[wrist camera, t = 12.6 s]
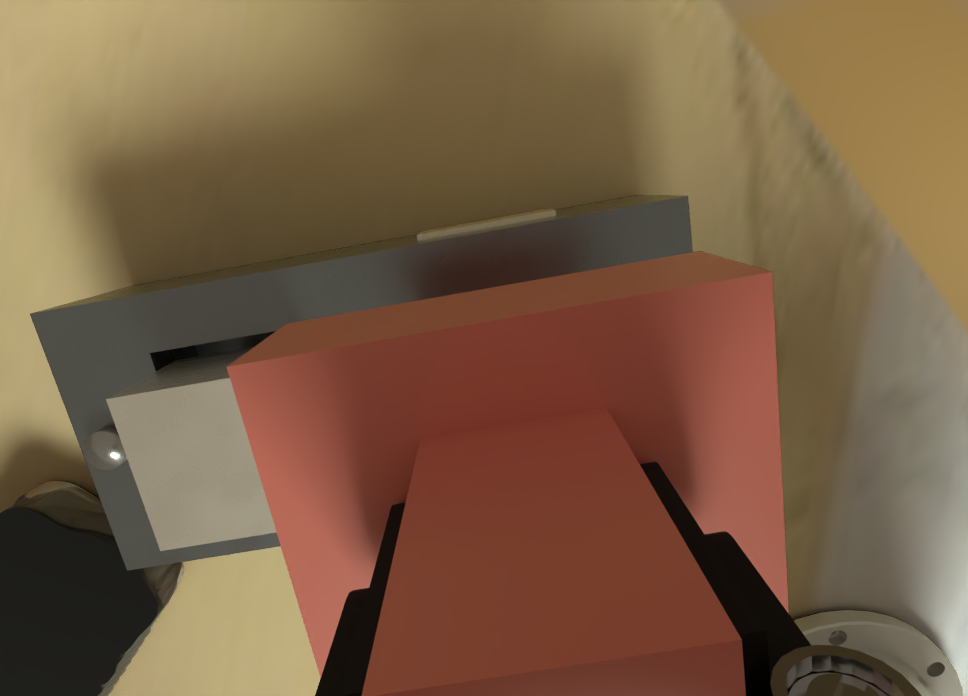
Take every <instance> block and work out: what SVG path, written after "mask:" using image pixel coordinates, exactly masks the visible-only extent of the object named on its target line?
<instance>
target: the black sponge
mask: <svg viewBox="0 0 968 696" xmlns="http://www.w3.org/2000/svg"><path fill="white" fill-rule="evenodd" d="M183 574H184V566H183V562H178V563H172V564H165V565H159V566H153V567H147V568H140V569H134V570H128V571H127V569H126V566H125V564H124V561H123V558H122V556H121V553H120V550H119V548H118V545H117V542H116V540H115V537H114V535H113V532H112V529H111V527H110V524H109V521H108V519H107V516H106V513H105V511H104V508H103V505H102V503H101V500H99V499H98V498H97V497H95V496H93V495H92V494H90V493H88V492H87V491H85V490H84V489H82V488H80V487H79V486H77V485H74V484H72V483H69V482H63V481H48V482H45V483H42V484H40V485H39V486H37V487H35V488H34V489H32V490H31V491H29V492H27V493H26V494H24V495H23V496H21V497H20V498H19V499H18V500H17V501H16V503H15V504H14V506H13V507H12V508H9V509H7V510H5V511H3V512H2V513H0V696H108V694H109V693H111V691H112V690H113V688H114V685H115V684H116V683H117V682H118V680H119V678H120V676H121V675H122V674H123V673H124V672H125V669H126V667H127V666H128V665H129V663H130V662H131V659H132V658H133V657H134V656H135V654H136V653H137V651H138V648H139V647H140V646H141V645H142V643H143V642H144V639H145V637H146V636H147V635H148V634H149V633H150V630H151V628H152V626H153V625H154V623H155V622H156V619H157V618H158V617H159V615H160V613H161V612H162V610H163V609H164V608H165V606H166V605H167V603H168V602H169V600H170V598H171V597H172V595H173V593H174V592H175V589H176V588H177V586H178V584H179V583H180V581H181V578H182V576H183Z"/></svg>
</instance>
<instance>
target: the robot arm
mask: <svg viewBox="0 0 968 696" xmlns="http://www.w3.org/2000/svg"><path fill="white" fill-rule="evenodd" d="M640 466H641V468H642V469H643V471H644V473H645V474H646V476H647V478H648V480H649V481H650V483H651V485H652V486H653V488H654V490H655V492H656V493H657V495H658V497H659V498H660V500H661V502H662V504H663V505H664V507H665V509H666V511H667V512H668V514H669V516H670V517H671V519H672V521H673V523H674V524H675V526H676V528H677V529H678V531H679V533H680V535H681V536H682V538H683V540H684V541H685V543H686V545H687V547H688V548H689V550H690V552H691V553H692V555H693V557H694V559H695V560H696V562H697V564H698V565H699V567H700V569H701V571H702V572H703V574H704V576H705V577H706V579H707V581H708V583H709V584H710V586H711V588H712V589H713V591H714V593H715V595H716V596H717V598H718V600H719V601H720V603H721V605H722V607H723V608H724V610H725V612H726V613H727V615H728V617H729V619H730V620H731V622H732V624H733V625H734V627H735V629H736V631H737V632H738V634H739V636H740V637H741V639H742V649H743V663H744V676H745V690H746V696H963V690H962V686H961V684H960V681H959V678H958V675H957V672H956V670H955V669H954V667H953V666H952V664H951V663H950V661H949V660H948V658H947V657H946V656H945V655H944V654H943V653H942V652H941V650H940V649H939V648H938V647H937V646H936V645H935V644H934V643H933V642H932V641H931V640H930V639H929V638H928V637H927V636H925V635H924V634H922V633H921V632H920V631H918V630H917V629H915V628H914V627H913V626H911V625H910V624H907V623H905V622H903V621H900V620H898V619H896V618H894V617H891V616H887V615H883V614H879V613H874V612H870V611H855V610H841V611H831V612H822V613H818V614H814V615H810V616H807V617H803V618H799V619H796V620H793V619H792V618H791V616H790V615H789V614H788V612H787V611H786V609H785V608H784V607H783V605H782V604H781V603H780V601H779V600H778V598H777V597H776V596H775V594H774V593H773V592H772V590H771V589H770V587H769V586H768V585H767V583H766V582H765V581H764V579H763V578H762V576H761V575H760V574H759V572H758V571H757V570H756V568H755V567H754V565H753V564H752V563H751V561H750V560H749V559H748V557H747V556H746V554H745V553H744V552H743V550H742V549H741V548H740V546H739V545H738V543H737V542H736V541H735V539H734V538H733V537H732V536H731V535H730V534H729V533H728V532H725V531H722V532H716V533H710V534H704V533H703V531H702V530H701V528H700V527H699V525H698V524H697V522H696V520H695V519H694V517H693V516H692V514H691V513H690V511H689V510H688V508H687V507H686V505H685V504H684V502H683V501H682V499H681V497H680V496H679V494H678V493H677V491H676V490H675V488H674V487H673V485H672V484H671V482H670V481H669V479H668V477H667V476H666V474H665V473H664V471H663V470H662V468H661V467H660V465H659V464H658V463H657V462H650V463H644V464H640ZM404 508H405V503H400V504H394V505H392V506H391V509H390V513H389V516H388V520H387V524H386V528H385V531H384V535H383V539H382V542H381V546H380V550H379V553H378V557H377V561H376V564H375V568H374V572H373V576H372V579H371V583H370V587H369V588H364V589H357V590H352V591H351V592H349V594H348V596H347V598H346V601H345V604H344V607H343V610H342V613H341V616H340V620H339V623H338V626H337V629H336V632H335V635H334V638H333V642H332V645H331V648H330V651H329V654H328V657H327V660H326V663H325V667H324V670H323V673H322V676H321V679H320V682H319V685H318V689H317V692H316V695H315V696H362V692H363V687H364V683H365V679H366V674H367V670H368V665H369V661H370V657H371V652H372V648H373V644H374V639H375V635H376V630H377V626H378V622H379V617H380V613H381V609H382V604H383V600H384V595H385V591H386V587H387V582H388V578H389V574H390V569H391V565H392V560H393V556H394V552H395V547H396V543H397V538H398V534H399V530H400V525H401V521H402V517H403V512H404Z"/></svg>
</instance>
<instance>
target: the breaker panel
mask: <svg viewBox="0 0 968 696" xmlns="http://www.w3.org/2000/svg"><path fill="white" fill-rule="evenodd" d="M691 252H693V251H692V239H691V227H690V216H689V204H688V196H669V195H635V196H630V197H624V198H619V199H613V200H608V201H602V202H596V203H591V204H585V205H580V206H574V207H569V208H563V209H557V210H553V209H550V208H548V209H543V210H537V211H532V212H526V213H521V214H515V215H509V216H504V217H498V218H493V219H487V220H482V221H476V222H471V223H465V224H459V225H454V226H448V227H443V228H437V229H432V230H426V231H422V232H420V233H419V234H417V235H413V236H407V237H402V238H396V239H391V240H385V241H379V242H374V243H368V244H363V245H357V246H352V247H346V248H341V249H335V250H329V251H324V252H318V253H313V254H307V255H302V256H296V257H290V258H285V259H279V260H274V261H268V262H263V263H257V264H252V265H246V266H240V267H235V268H229V269H224V270H218V271H213V272H207V273H201V274H196V275H190V276H185V277H179V278H174V279H168V280H163V281H157V282H151V283H146V284H140V285H135V286H130V287H126V288H123V289H119V290H115V291H112V292H108V293H104V294H101V295H97V296H93V297H90V298H86V299H82V300H79V301H75V302H71V303H68V304H64V305H60V306H57V307H53V308H49V309H46V310H42V311H38V312H35V313H31V314H30V315H31V318H32V321H33V323H34V326H35V329H36V331H37V334H38V337H39V339H40V342H41V345H42V347H43V350H44V352H45V355H46V358H47V360H48V363H49V366H50V368H51V371H52V374H53V376H54V379H55V381H56V384H57V387H58V389H59V392H60V395H61V397H62V400H63V403H64V405H65V408H66V410H67V413H68V416H69V418H70V421H71V424H72V426H73V429H74V432H75V434H76V437H77V440H78V442H79V445H80V447H81V450H82V453H83V455H84V458H85V461H86V463H87V466H88V469H89V471H90V474H91V476H92V479H93V482H94V484H95V487H96V490H97V492H98V495H99V498H100V500H101V503H102V505H103V508H104V511H105V513H106V516H107V519H108V521H109V524H110V527H111V529H112V532H113V535H114V537H115V540H116V542H117V545H118V548H119V550H120V553H121V556H122V558H123V561H124V564H125V566H126V569H127V571H128V570H134V569H140V568H147V567H153V566H159V565H165V564H172V563H178V562H184V561H190V560H197V559H203V558H209V557H215V556H222V555H228V554H234V553H240V552H247V551H253V550H259V549H265V548H272V547H278V546H281V545H280V542H279V539H278V535H277V532H276V529H275V525H274V522H273V519H272V515H271V512H270V509H269V506H268V502H267V499H266V496H265V492H264V489H263V486H262V482H261V479H260V476H259V473H258V469H257V466H256V463H255V459H254V456H253V453H252V449H251V446H250V443H249V440H248V436H247V433H246V430H245V426H244V423H243V420H242V416H241V413H240V410H239V407H238V403H237V400H236V397H235V393H234V390H233V387H232V383H231V380H230V377H229V374H228V370H227V366H228V365H230V364H231V363H233V362H234V361H235V360H237V359H238V358H240V357H241V356H242V355H244V354H245V353H247V352H248V351H249V350H251V349H252V348H254V347H255V346H256V345H258V344H259V343H260V342H262V341H263V340H265V339H266V338H267V337H269V336H270V335H272V334H273V333H274V332H276V331H277V330H279V329H280V328H281V327H283V326H284V325H286V324H288V323H293V322H299V321H305V320H310V319H316V318H322V317H327V316H333V315H339V314H345V313H350V312H356V311H362V310H367V309H373V308H379V307H384V306H390V305H396V304H401V303H407V302H413V301H418V300H424V299H430V298H435V297H441V296H447V295H453V294H458V293H464V292H470V291H475V290H481V289H487V288H492V287H498V286H504V285H509V284H515V283H521V282H526V281H532V280H538V279H543V278H549V277H555V276H560V275H566V274H572V273H578V272H583V271H589V270H595V269H600V268H606V267H612V266H617V265H623V264H629V263H634V262H640V261H646V260H651V259H657V258H663V257H668V256H674V255H680V254H685V253H691Z"/></svg>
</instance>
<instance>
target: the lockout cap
mask: <svg viewBox="0 0 968 696" xmlns="http://www.w3.org/2000/svg"><path fill="white" fill-rule="evenodd" d="M227 370H228V374H229V377H230V380H231V383H232V387H233V390H234V393H235V397H236V400H237V403H238V407H239V410H240V413H241V416H242V420H243V423H244V426H245V430H246V433H247V436H248V440H249V443H250V446H251V449H252V453H253V456H254V459H255V463H256V466H257V469H258V473H259V476H260V479H261V482H262V486H263V489H264V492H265V496H266V499H267V502H268V506H269V509H270V512H271V515H272V519H273V522H274V525H275V529H276V532H277V535H278V539H279V542H280V545H281V548H282V552H283V555H284V558H285V562H286V565H287V568H288V571H289V575H290V578H291V581H292V585H293V588H294V591H295V595H296V598H297V601H298V604H299V608H300V611H301V614H302V618H303V621H304V624H305V628H306V631H307V634H308V637H309V641H310V644H311V647H312V651H313V654H314V657H315V661H316V664H317V667H318V670H319V674H320V677H321V676H322V673H323V670H324V667H325V663H326V660H327V657H328V654H329V651H330V648H331V645H332V642H333V638H334V635H335V632H336V629H337V626H338V623H339V620H340V616H341V613H342V610H343V607H344V604H345V601H346V598H347V596H348V594H349V592H351V591H352V590H357V589H364V588H369V587H370V583H371V579H372V576H373V572H374V568H375V564H376V561H377V557H378V553H379V550H380V546H381V542H382V539H383V535H384V531H385V528H386V524H387V520H388V516H389V513H390V509H391V506H392V505H394V504H400V503H405V508H404V512H403V517H402V521H401V525H400V530H399V534H398V538H397V543H396V547H395V552H394V556H393V560H392V565H391V569H390V574H389V578H388V582H387V587H386V591H385V595H384V600H383V604H382V609H381V613H380V617H379V622H378V626H377V630H376V635H375V639H374V644H373V648H372V652H371V657H370V661H369V665H368V670H367V674H366V679H365V683H364V687H363V692H362V696H746V690H745V676H744V663H743V649H742V639H741V637H740V636H739V634H738V632H737V631H736V629H735V627H734V625H733V624H732V622H731V620H730V619H729V617H728V615H727V613H726V612H725V610H724V608H723V607H722V605H721V603H720V601H719V600H718V598H717V596H716V595H715V593H714V591H713V589H712V588H711V586H710V584H709V583H708V581H707V579H706V577H705V576H704V574H703V572H702V571H701V569H700V567H699V565H698V564H697V562H696V560H695V559H694V557H693V555H692V553H691V552H690V550H689V548H688V547H687V545H686V543H685V541H684V540H683V538H682V536H681V535H680V533H679V531H678V529H677V528H676V526H675V524H674V523H673V521H672V519H671V517H670V516H669V514H668V512H667V511H666V509H665V507H664V505H663V504H662V502H661V500H660V498H659V497H658V495H657V493H656V492H655V490H654V488H653V486H652V485H651V483H650V481H649V480H648V478H647V476H646V474H645V473H644V471H643V469H642V468H641V466H640V464H644V463H650V462H657V463H658V464H659V465H660V467H661V468H662V470H663V471H664V473H665V474H666V476H667V477H668V479H669V481H670V482H671V484H672V485H673V487H674V488H675V490H676V491H677V493H678V494H679V496H680V497H681V499H682V501H683V502H684V504H685V505H686V507H687V508H688V510H689V511H690V513H691V514H692V516H693V517H694V519H695V520H696V522H697V524H698V525H699V527H700V528H701V530H702V531H703V533H704V534H710V533H716V532H722V531H725V532H728V533H729V534H730V535H731V536H732V537H733V538H734V539H735V541H736V542H737V543H738V545H739V546H740V548H741V549H742V550H743V552H744V553H745V554H746V556H747V557H748V559H749V560H750V561H751V563H752V564H753V565H754V567H755V568H756V570H757V571H758V572H759V574H760V575H761V576H762V578H763V579H764V581H765V582H766V583H767V585H768V586H769V587H770V589H771V590H772V592H773V593H774V594H775V596H776V597H777V598H778V600H779V601H780V603H781V604H782V605H783V607H784V608H785V609H786V611H787V612H788V614H789V609H788V588H787V567H786V547H785V526H784V505H783V484H782V464H781V443H780V422H779V401H778V381H777V360H776V339H775V318H774V298H773V277H772V272H771V271H767V270H764V269H760V268H757V267H753V266H750V265H747V264H743V263H740V262H736V261H733V260H729V259H726V258H722V257H719V256H715V255H712V254H708V253H705V252H702V251H697V252H691V253H685V254H680V255H674V256H668V257H663V258H657V259H651V260H646V261H640V262H634V263H629V264H623V265H617V266H612V267H606V268H600V269H595V270H589V271H583V272H578V273H572V274H566V275H560V276H555V277H549V278H543V279H538V280H532V281H526V282H521V283H515V284H509V285H504V286H498V287H492V288H487V289H481V290H475V291H470V292H464V293H458V294H453V295H447V296H441V297H435V298H430V299H424V300H418V301H413V302H407V303H401V304H396V305H390V306H384V307H379V308H373V309H367V310H362V311H356V312H350V313H345V314H339V315H333V316H327V317H322V318H316V319H310V320H305V321H299V322H293V323H288V324H286V325H284V326H283V327H281V328H280V329H279V330H277V331H276V332H274V333H273V334H272V335H270V336H269V337H267V338H266V339H265V340H263V341H262V342H260V343H259V344H258V345H256V346H255V347H254V348H252V349H251V350H249V351H248V352H247V353H245V354H244V355H242V356H241V357H240V358H238V359H237V360H235V361H234V362H233V363H231V364H230V365H228V366H227Z"/></svg>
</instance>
